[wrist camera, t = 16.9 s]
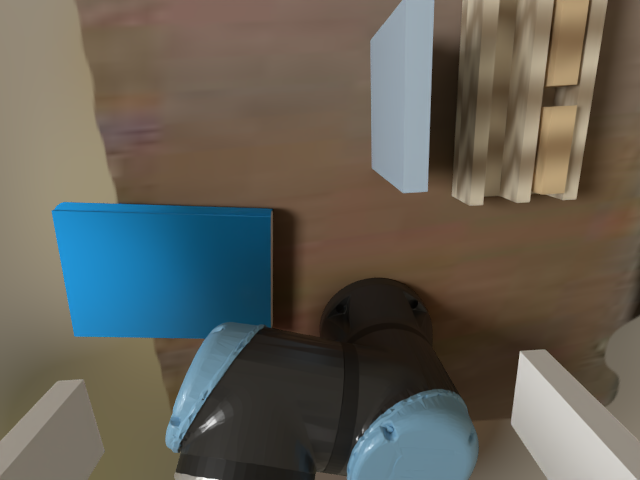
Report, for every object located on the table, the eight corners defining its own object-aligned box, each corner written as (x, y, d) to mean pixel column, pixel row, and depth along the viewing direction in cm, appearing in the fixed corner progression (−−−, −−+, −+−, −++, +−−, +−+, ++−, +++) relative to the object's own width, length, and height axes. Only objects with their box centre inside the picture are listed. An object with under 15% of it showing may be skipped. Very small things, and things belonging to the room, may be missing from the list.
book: (272, 339, 49) (73, 340, 48) (274, 322, 53) (91, 322, 52) (270, 210, 44) (46, 207, 42) (273, 202, 48) (69, 199, 46)
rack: (546, 190, 47) (576, 199, 42) (451, 195, 47) (469, 205, 42) (573, -12, 41) (612, -32, 35) (462, -7, 41) (485, -25, 35)
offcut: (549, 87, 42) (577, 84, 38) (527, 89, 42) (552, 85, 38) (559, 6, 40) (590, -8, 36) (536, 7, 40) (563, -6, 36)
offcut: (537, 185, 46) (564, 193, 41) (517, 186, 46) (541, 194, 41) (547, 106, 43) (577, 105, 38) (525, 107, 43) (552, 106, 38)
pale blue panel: (388, 167, 46) (427, 191, 31) (371, 168, 46) (403, 193, 31) (388, 39, 42) (434, -6, 26) (370, 40, 42) (405, -5, 26)
